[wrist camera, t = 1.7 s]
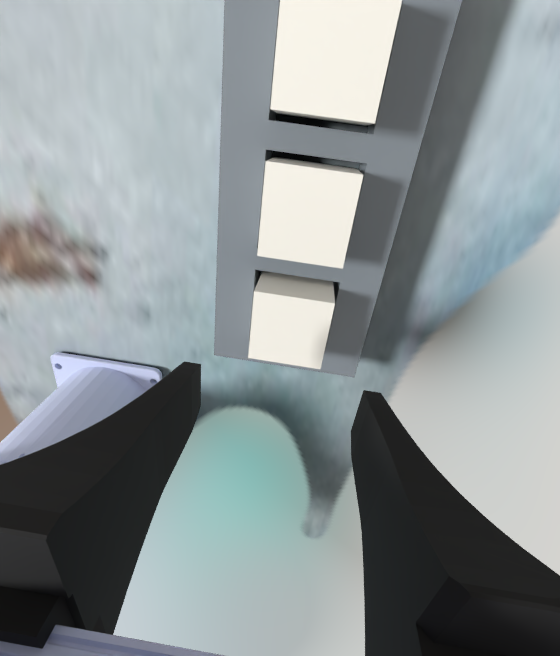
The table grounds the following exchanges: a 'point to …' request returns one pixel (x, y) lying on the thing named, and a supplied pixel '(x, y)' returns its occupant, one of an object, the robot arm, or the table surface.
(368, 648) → the robot arm
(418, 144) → the button board
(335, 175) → the middle button
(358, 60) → the button
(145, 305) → the table surface
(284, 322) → the button
